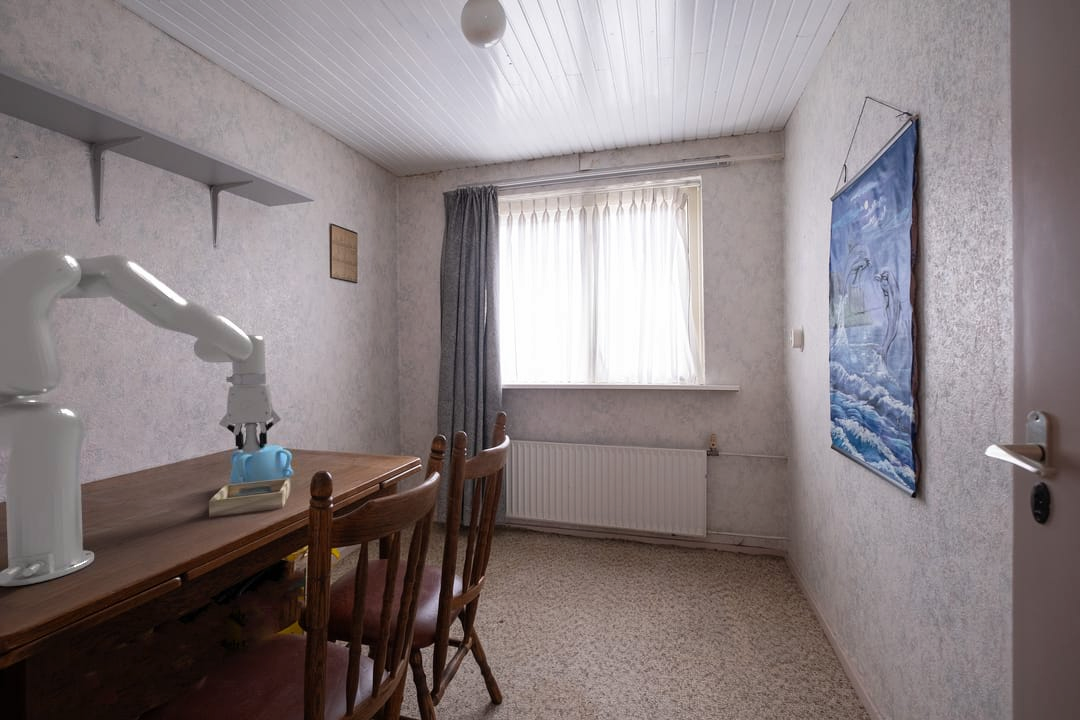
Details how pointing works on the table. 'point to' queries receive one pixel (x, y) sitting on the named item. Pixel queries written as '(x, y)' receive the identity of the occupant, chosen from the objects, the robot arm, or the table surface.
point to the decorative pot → (261, 465)
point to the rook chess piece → (251, 439)
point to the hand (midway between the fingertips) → (251, 447)
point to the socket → (254, 491)
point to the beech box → (249, 498)
